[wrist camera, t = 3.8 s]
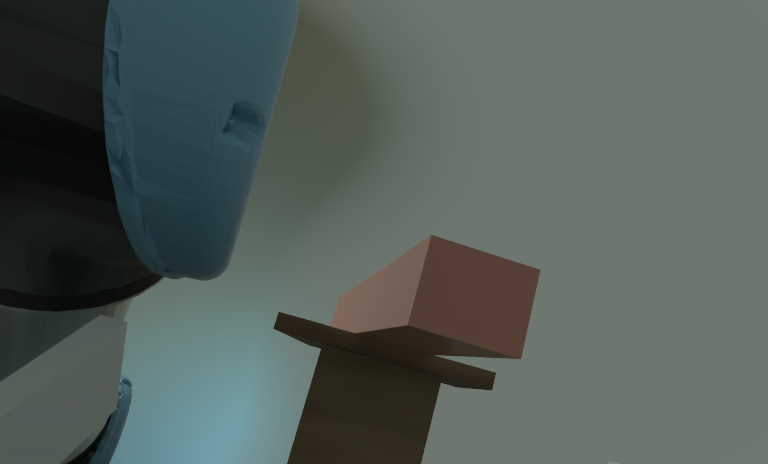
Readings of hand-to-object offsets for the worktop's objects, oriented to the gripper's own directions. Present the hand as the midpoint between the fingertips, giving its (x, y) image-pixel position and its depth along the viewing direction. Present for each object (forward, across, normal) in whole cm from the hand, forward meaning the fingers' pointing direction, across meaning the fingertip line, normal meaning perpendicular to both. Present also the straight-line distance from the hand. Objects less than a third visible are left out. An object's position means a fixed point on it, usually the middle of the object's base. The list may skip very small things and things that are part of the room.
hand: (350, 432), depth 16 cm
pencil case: (+20, 0, -7) cm, 21 cm away
